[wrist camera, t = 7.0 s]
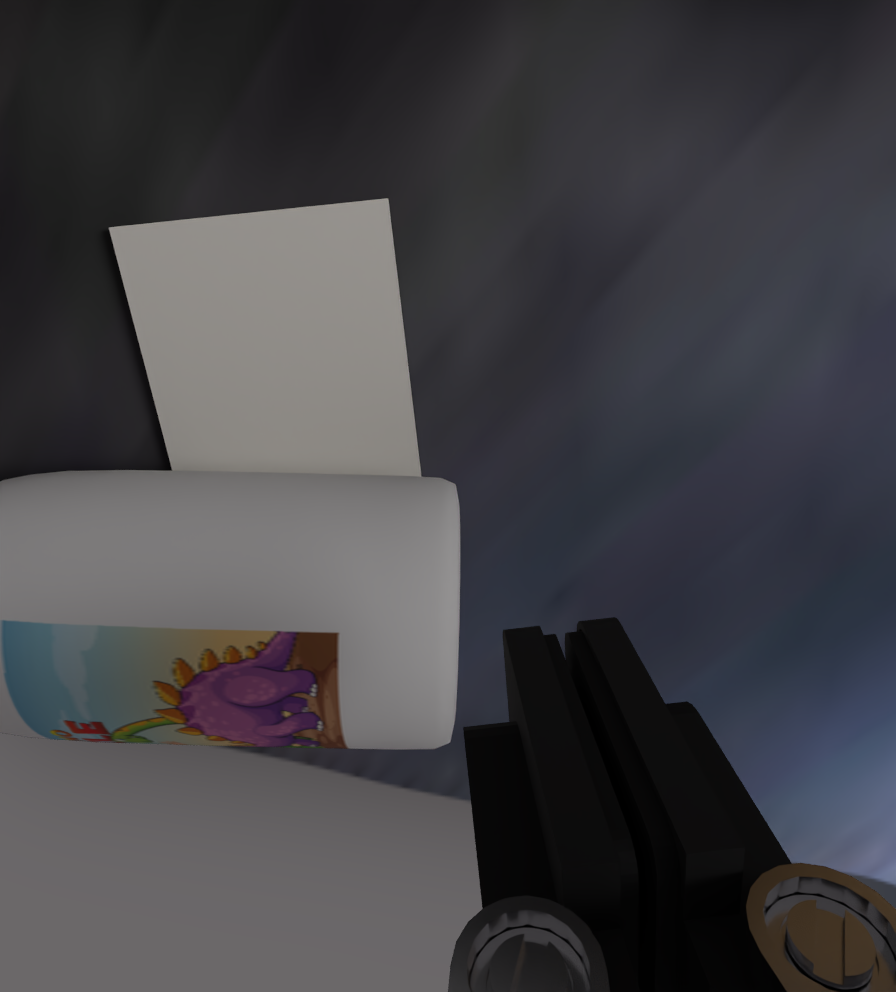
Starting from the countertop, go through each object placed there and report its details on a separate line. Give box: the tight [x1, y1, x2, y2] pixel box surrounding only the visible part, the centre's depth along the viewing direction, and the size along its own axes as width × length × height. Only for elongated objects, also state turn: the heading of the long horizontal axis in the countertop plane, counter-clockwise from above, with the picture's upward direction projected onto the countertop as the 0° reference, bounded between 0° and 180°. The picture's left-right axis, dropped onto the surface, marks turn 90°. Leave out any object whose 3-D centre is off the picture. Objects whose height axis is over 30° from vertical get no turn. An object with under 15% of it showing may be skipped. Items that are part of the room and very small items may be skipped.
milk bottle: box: [0, 470, 460, 750], centre depth 19 cm, size 8×8×20 cm
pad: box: [109, 198, 421, 477], centre depth 22 cm, size 8×15×1 cm, turn 6°
